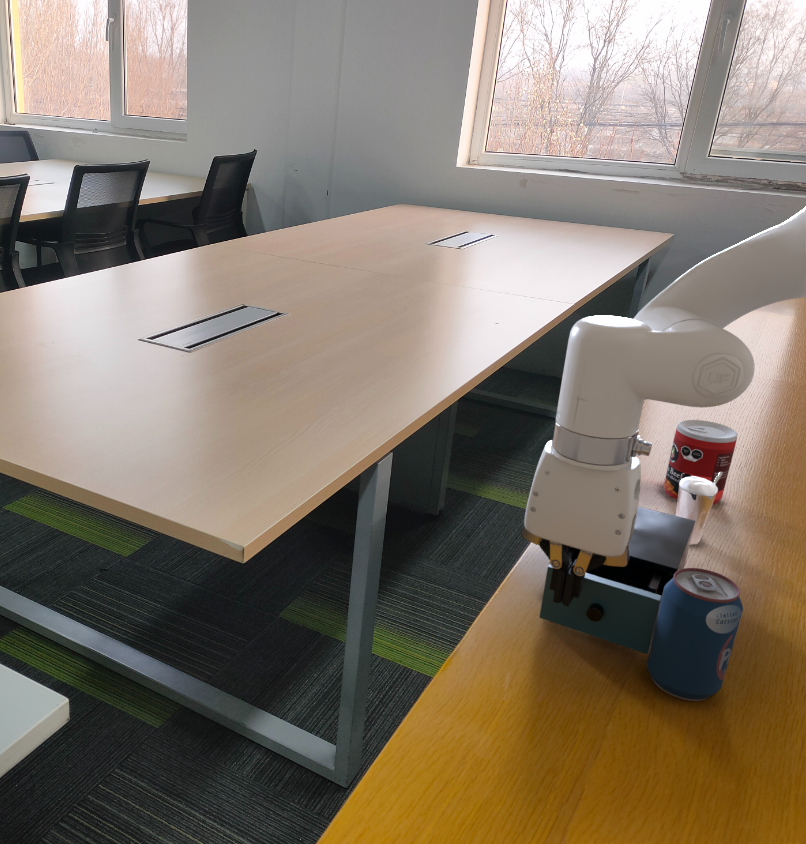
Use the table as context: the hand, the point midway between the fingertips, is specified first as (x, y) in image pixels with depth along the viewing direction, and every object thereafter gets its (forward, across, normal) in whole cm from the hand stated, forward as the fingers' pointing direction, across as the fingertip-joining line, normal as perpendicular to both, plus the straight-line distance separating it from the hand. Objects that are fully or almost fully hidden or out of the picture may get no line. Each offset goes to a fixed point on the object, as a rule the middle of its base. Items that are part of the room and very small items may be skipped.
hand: (564, 598), depth 86 cm
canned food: (+6, -7, -50) cm, 51 cm away
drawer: (+5, -3, -8) cm, 10 cm away
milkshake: (+6, -9, -35) cm, 36 cm away
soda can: (+6, -12, -1) cm, 14 cm away
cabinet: (+6, -3, -16) cm, 17 cm away
